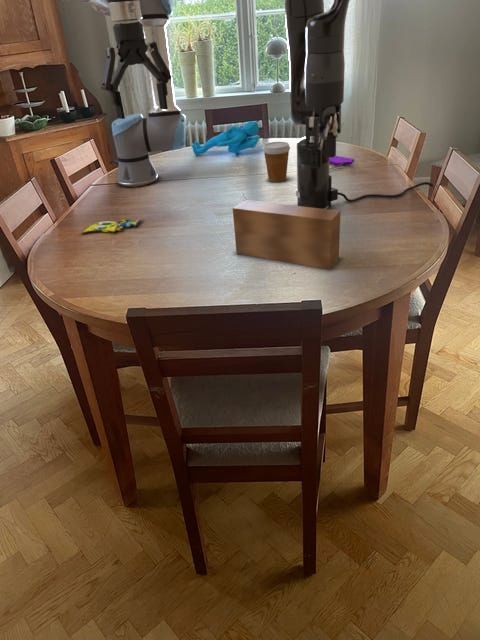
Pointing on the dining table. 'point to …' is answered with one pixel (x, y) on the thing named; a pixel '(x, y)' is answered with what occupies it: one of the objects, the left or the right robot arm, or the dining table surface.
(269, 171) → the disposable coffee cup
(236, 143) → the toy
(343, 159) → the musical instrument
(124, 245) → the dining table surface
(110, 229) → the toy
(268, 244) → the box
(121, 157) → the left robot arm
